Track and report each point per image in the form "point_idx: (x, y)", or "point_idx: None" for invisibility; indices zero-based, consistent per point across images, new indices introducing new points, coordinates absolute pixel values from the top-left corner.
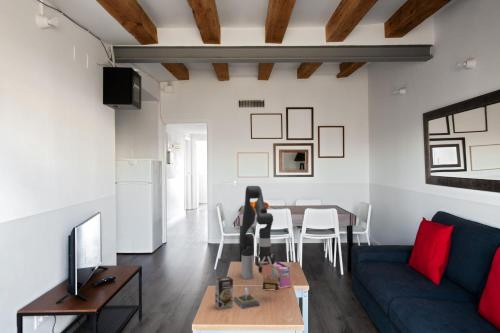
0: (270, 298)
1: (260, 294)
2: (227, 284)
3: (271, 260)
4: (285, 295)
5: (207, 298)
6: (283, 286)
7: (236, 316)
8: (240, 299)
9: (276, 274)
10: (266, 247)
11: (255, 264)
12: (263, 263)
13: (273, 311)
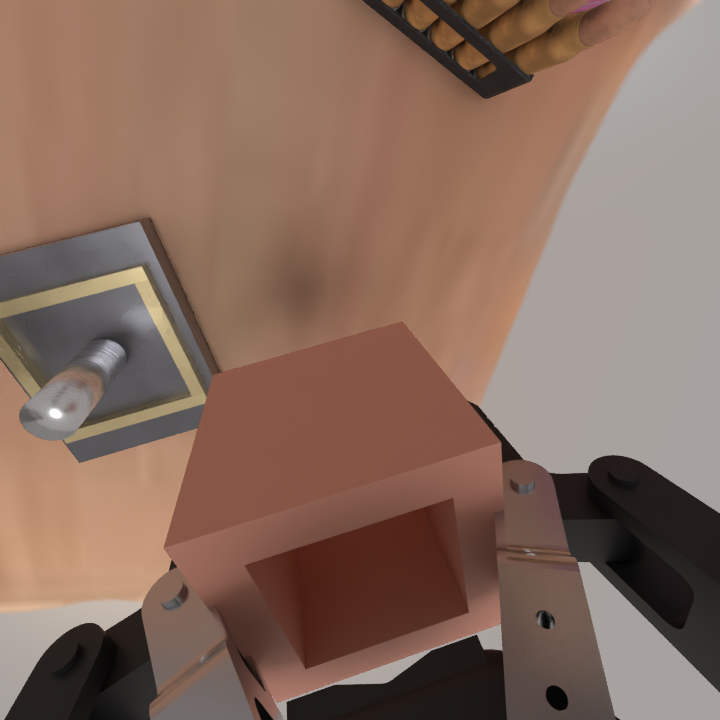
0: (353, 278)
1: (278, 149)
2: None
3: (658, 550)
4: (500, 233)
5: None
6: (596, 3)
7: (58, 538)
8: (40, 350)
9: (616, 20)
10: None
11: (34, 673)
12: (345, 525)
13: None
